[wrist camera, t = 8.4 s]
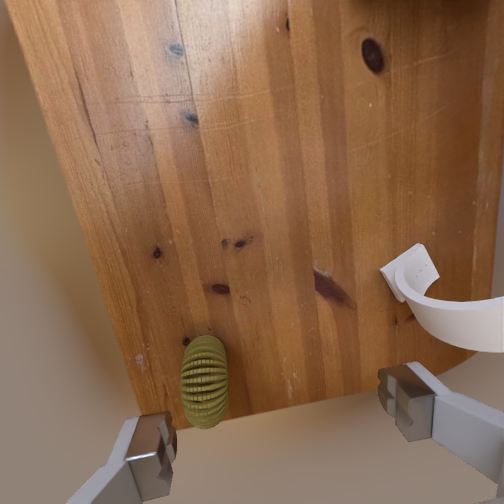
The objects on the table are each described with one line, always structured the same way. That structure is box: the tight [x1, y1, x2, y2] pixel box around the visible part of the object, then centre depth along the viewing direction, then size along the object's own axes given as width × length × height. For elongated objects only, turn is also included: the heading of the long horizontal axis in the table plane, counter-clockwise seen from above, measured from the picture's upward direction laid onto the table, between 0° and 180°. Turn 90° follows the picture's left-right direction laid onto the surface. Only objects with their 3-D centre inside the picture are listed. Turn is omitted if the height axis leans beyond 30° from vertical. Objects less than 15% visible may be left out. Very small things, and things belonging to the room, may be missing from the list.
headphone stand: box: [380, 243, 504, 352], centre depth 23 cm, size 5×6×12 cm
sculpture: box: [181, 335, 229, 429], centre depth 24 cm, size 8×4×8 cm, turn 2°
